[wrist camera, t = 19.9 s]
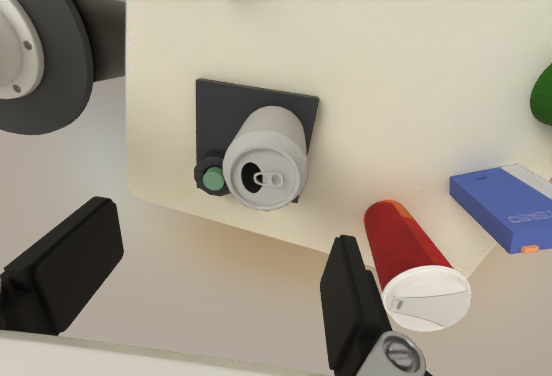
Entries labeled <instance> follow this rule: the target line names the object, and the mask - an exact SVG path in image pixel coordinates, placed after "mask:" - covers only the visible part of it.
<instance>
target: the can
mask: <svg viewBox="0 0 552 376" xmlns="http://www.w3.org/2000/svg"><path fill="white" fill-rule="evenodd" d="M307 174H308V164H307V154H306V143H305V134H304V129H303V126H302V124H301V122H300V121H299V119H298V117H296V116H295V115H294V114H293V113H292V112H291V111H289V110H287V109H285V108H282V107H278V106H267V107H263V108H259V109H258V110H256V111H255V112H253V113H251V115H250V116H249V117H248V118H247V120H246V121H245V122H244V124H243V126H242V127H241V129H240V130H239V132H238V133H237V135H236V137H235V138H234V140H233V141H232V143H231V144H230V146H229V148H228V149H227V151H226V154H225V157H224V160H223V175H224V178H225V181H226V183H227V186H228V187H229V190H230V192H231V193H232V195H233V196H234V197H235V198H236V200H238V201H239V202H240V203H242V204H243V205H244V206H246V207H249V208H251V209H254V210H260V211H271V210H277V209H280V208H282V207H284V206H286V205H288V204H289V203H290V202H291V201H292V200H294V199H295V198H296V197H297V196H298V195H299V194H300V193H301V191H302V189H303V188H304V186H305V184H306V181H307Z"/></svg>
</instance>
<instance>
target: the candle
mask: <svg viewBox="0 0 552 376" xmlns="http://www.w3.org/2000/svg"><path fill="white" fill-rule="evenodd" d="M530 103H531V110H532V113H533V114H534V116H535V117H536V118H537V119H538V120H539V121H540V122H543V123H545V124H548V125H551V126H552V64H551V65H550V66H549V67H548V68H547V69H546V70H545V71H544V72H543V73H542V75H541V76H540V77H539V79H538V81H537V82H536V84H535V86H534V89H533V91H532V94H531V100H530Z"/></svg>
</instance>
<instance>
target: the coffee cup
mask: <svg viewBox="0 0 552 376" xmlns="http://www.w3.org/2000/svg"><path fill="white" fill-rule="evenodd" d="M364 225H365V229H366V233H367V237H368V241H369V245H370V248H371V252H372V256H373V260H374V263H375V267H376V271H377V274H378V277H379V281H380V285H381V289H382V292H383V293H382V302H383V305H384V308H385V310H386V311H387V313H389V314H390V315H391V316H392V318H393V319H394V320H395V322H397V323H398V324H399V325H401V326H402V327H404V328H407V329H410V330H414V331H435V330H440V329H444V328H446V327H448V326H450V325H452V324H454V323H456V322H458V321H459V320H461V319H462V318H463V317H464V316H465V315H466V313H467V312H468V310H469V308H470V305H471V289H470V286H469V283H468V281H467V279H466V278H465V277H464V276H463V275H462V274H461V273H460V272H458V271H456V270H454V269H453V267H452V266H451V265H450V264H449V262H448V261H447V260H446V258H445V257H444V256H443V255H442V253H441V252H440V251H439V250H438V248H437V247H436V246H435V245H434V243H433V242H432V241H431V240H430V238H429V237H428V236H427V235H426V233H425V232H424V231H423V230H422V228H421V227H420V226H419V225H418V223H417V222H416V221H415V220H414V218H413V217H412V216H411V215H410V214H409V212H408V211H407V210H406V209H405V208H404V207H403V206H402V205H401V204H400V203H398V202H396V201H391V200H384V201H380V202H377V203H375V204H373V205H372V206H371V207H369V208H368V210H367V211H366V213H365V215H364Z"/></svg>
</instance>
